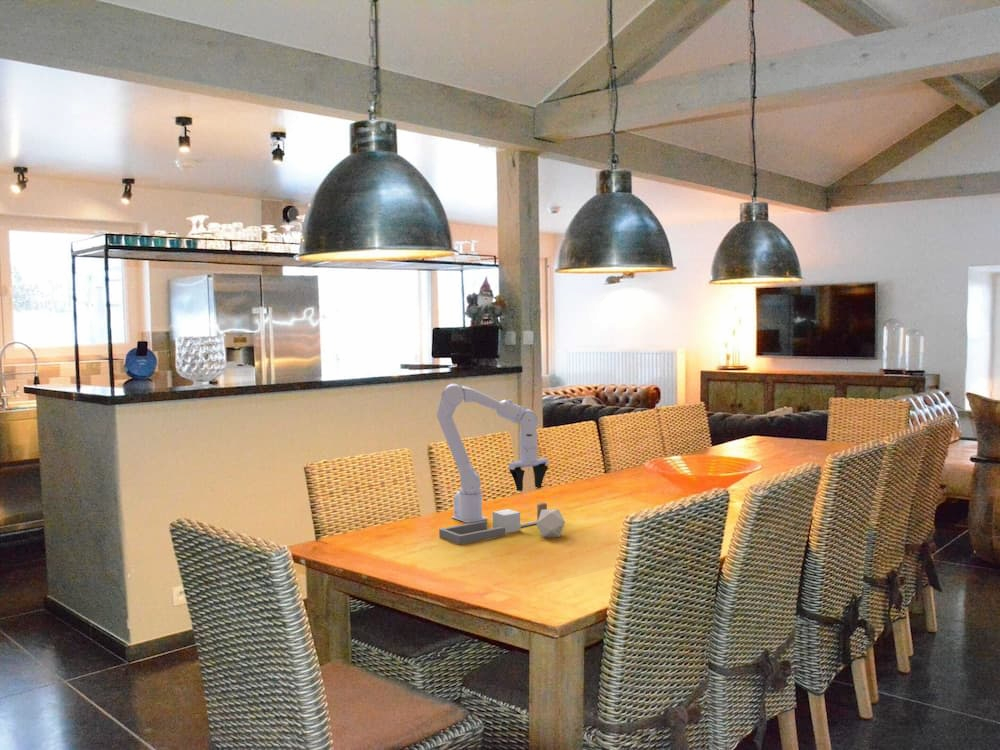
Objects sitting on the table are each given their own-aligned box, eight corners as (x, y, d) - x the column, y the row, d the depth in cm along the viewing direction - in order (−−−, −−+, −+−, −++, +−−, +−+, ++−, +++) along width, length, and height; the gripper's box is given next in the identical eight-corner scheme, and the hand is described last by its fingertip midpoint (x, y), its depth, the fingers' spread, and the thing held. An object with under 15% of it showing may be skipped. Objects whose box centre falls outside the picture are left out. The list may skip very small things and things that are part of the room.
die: (556, 543, 252) (572, 514, 255) (530, 528, 254) (546, 499, 256) (554, 546, 260) (569, 518, 263) (529, 531, 261) (545, 503, 264)
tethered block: (492, 529, 267) (492, 510, 266) (539, 520, 278) (539, 501, 277) (504, 533, 262) (504, 513, 262) (551, 523, 273) (551, 504, 273)
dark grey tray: (439, 537, 259) (439, 528, 258) (484, 528, 268) (484, 520, 268) (459, 544, 250) (459, 536, 250) (505, 535, 259) (505, 527, 259)
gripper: (517, 451, 272) (518, 493, 273) (553, 446, 281) (554, 487, 282) (504, 448, 278) (505, 490, 279) (540, 443, 287) (540, 484, 288)
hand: (528, 489), depth 281 cm, fingers open, 7 cm apart
